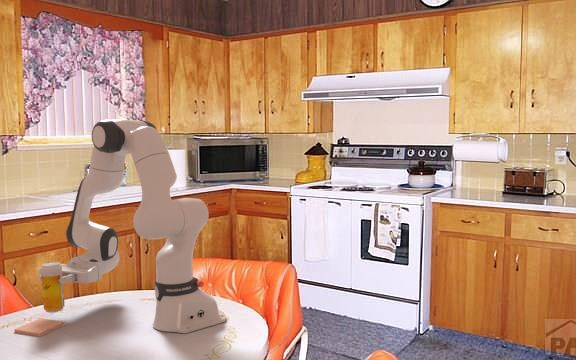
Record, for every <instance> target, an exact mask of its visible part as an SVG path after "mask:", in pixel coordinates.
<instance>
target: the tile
mask: <svg viewBox="0 0 576 360" xmlns="http://www.w3.org/2000/svg"><path fill="white" fill-rule="evenodd" d="M63 326H66V322H65V321H63V320H55V319H49V318H42V317H41V318H37V319H35V320H33V321H31V322H28V323H26V324H24V325H20V326H19V327H16V328H14V333H16V332H17V333H16V334H22V333H23V334H24V335H28V336H35V337H43V336H44V335H46V334H48V333H51V332H53V331H55V330H56V329H59V328H61V327H63Z"/></svg>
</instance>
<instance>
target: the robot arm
mask: <svg viewBox="0 0 576 360" xmlns="http://www.w3.org/2000/svg"><path fill="white" fill-rule="evenodd" d="M91 142H92V145H93V147H92V151H91V157H90V163H89V164H90V165H89V171H88V173H87V175H86V177H84V178H82V180H81V181H80V183H79V185H78V189H77V192H76V193H77V194H76V197H75V201H74V206H73V209H72V213H71V217H70V220H69V223H68V225H67V228H66V232H65V235H66V236H65V238H66V241H67V242H68V244H69V245H71V246H72V247H75V248H81V249H83V250H87V251H86V253H83V254H81V255H78V256H74V257H72V258H70V260H69V261H68V263H67V264H66V263H60V264H61V266H62V276H63V277H59V278H58V283H61V284H63V285H64V284H65V283H76V284H90V283H94V282H99V281H102V280H103V275H104V274H106V273H108V272H111V271H112V270H113V269H115V268H117V266H118V264H119V262H120V258H121V257H120V252H119V251H118V248H119V237H118V232H117V231H116V230H115V229H114V228H112V227H109V226H106V225H103V224H100V223H96V222H94V221H91V220H90V211H91V209H92V204H93V201H94V198H95V196H97V195H100V194H107V193H111V192H113V191H115V190H117V189H118V188H119V187H120V186H121V185H122V182H123V180H124V174H125V163H126V161H125V160H126V156H127V154H128V155H129V154H131V157H132V160H133V164H134V166H135V169H136V172H137V176H138V179H139V183H140V186H141V200H140V201H141V202H140V204H139V206H138V208H137V209H136V211H135V213H134V215H133V219H132V220H133V221H132V224H133V228H134V231H135V232H136V234H137V235H138V237H140V238H141V239H143V240H160V239H166V241H165V243H164V245H163V246H162V248H160V250H159V251H158V252H157V254H156V257H155V273H156V275H155V276H156V279H155V281H154V283H155V284H154V285H155V286H154V295H155V299H156V304H155V305H156V306H155V312H154V313H155V314H154V319H153V323H152V326H153V328H154V329H155V330H158V331H162V332H169V333H171V332H172V333H173V332H174V333H179V334H189V333H191V332H195V331H198V330H202V329H204V328H208V327H212V326H215V325H219V324H222V323H225V322H226V320H227V317H226V314H225V313H224V312H223V311H222V310H221V309H219V306H218V303H217V301H216V299H215V298H214V297H213V296H212V295H210V294H209V293H207V292H205V291H204V290H202V289H201V288H203V287H204V286H205V285H204V284H205V282H204V281H203V280H202V279H199V278H196V277H194V274H193V269H194V268H193V267H194V266H193V256H194V249H195V245H196V242H197V239H198V237H199V235H200V232H201V231H202V230H203V228H204V227H205V226H206V225H207V224H208V221H209V217H210V215H209V213H210V212H209V209H208V205H207V204H206V203H205V202H204V201H203V199H199V198H194V197H181V198H177V199H176V198H175V199H172V197H171V193H170V192H171V188H172V187H173V186H174V184H176V181H177V179H178V178H177V177H178V175H177V173H176V168H175V166H174V163H173V160H172V158H171V155H170V152H169V150H168V148H167V145H166V143H165V141H164V139H163V137H162V135H161V133H159V131H158V129H157V126H155V124H154V123H152V122H150V121H147V120H144V119H143V120H142V119H141V120H137V119H127V118H120V119H119V118H118V119H104V120H100V121H98V122H96V123H95V124H94V125H93V128H92V130H91ZM41 267H42V266H41ZM41 267H39V268H38V279H39V280H38V281H39V282H42V278H41Z"/></svg>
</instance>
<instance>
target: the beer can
mask: <svg viewBox="0 0 576 360" xmlns="http://www.w3.org/2000/svg"><path fill="white" fill-rule="evenodd" d="M61 264H62V263H61V262H60V261H50V262H49V261H48V262H45V263H42V264H41V278H42V281H41V289H42V304H43V310H44V311H45V313H51V314H52V313H53V314H54V313H57V312H60V311H62V310H63V309H64V308H65V294H64V292H65V291H64V283H63V284H61V283H58V278H59V277H63V276H62V266H61Z"/></svg>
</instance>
